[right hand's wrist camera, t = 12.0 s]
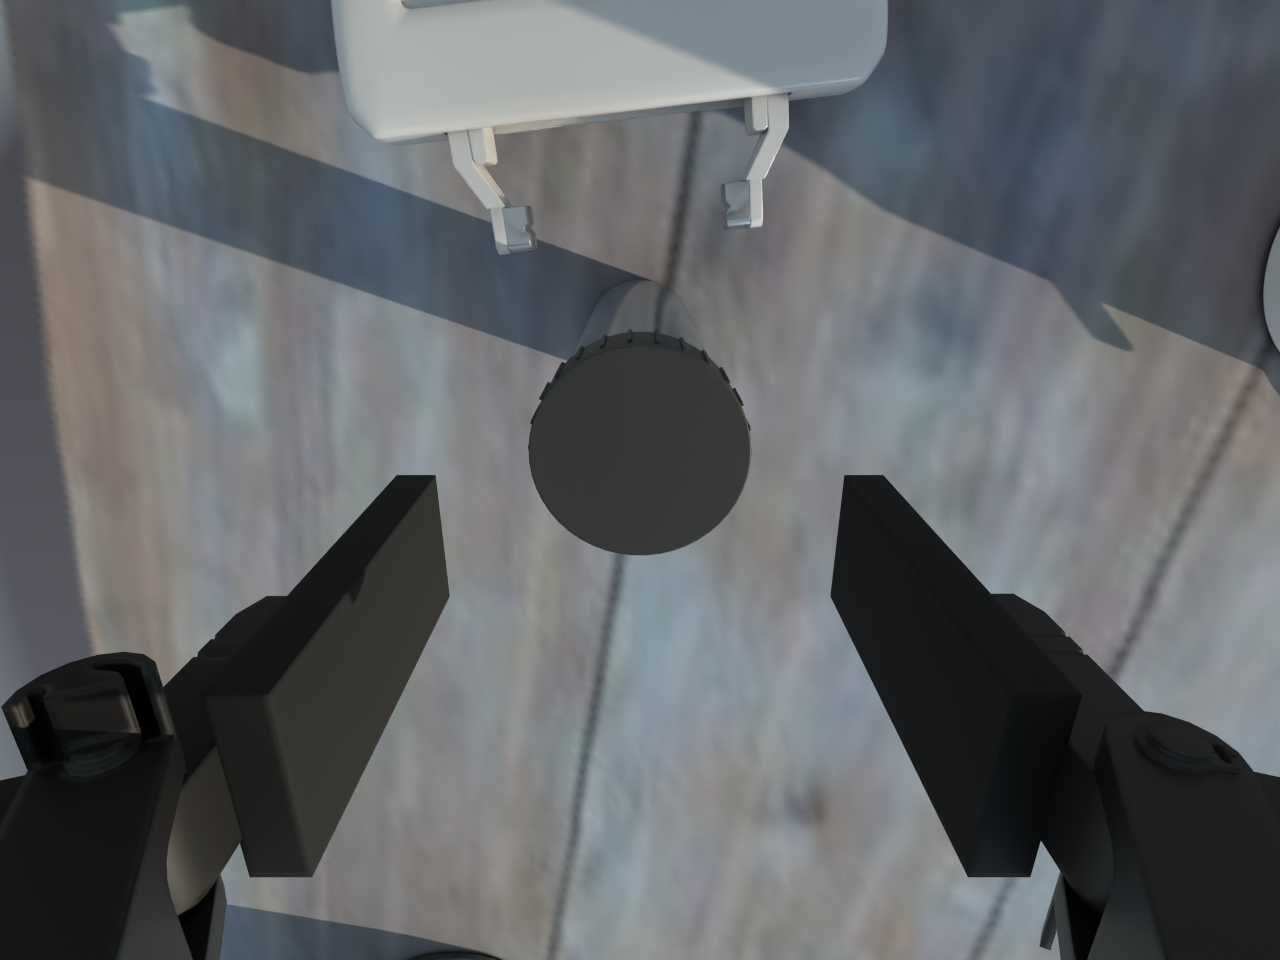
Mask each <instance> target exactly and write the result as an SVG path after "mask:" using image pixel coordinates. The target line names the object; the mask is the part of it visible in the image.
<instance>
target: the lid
mask: <svg viewBox="0 0 1280 960" xmlns="http://www.w3.org/2000/svg"><path fill="white" fill-rule="evenodd" d="M729 383H730V380H729V379H728V377H727V375H726V373H725V371H724V369H723V368H722V367H721V368H719V367H718V366H717V365H716V364H715V363H714V362H713V361H712V360H711V359H710V358H709V357H708V355H707V353H706V351H705V350H702V351H700V350H699V349H697V348H696V347H694V346H692V345H690V344H689V343H687V342H685V341H684V338H682V337H680V338H679V339H678V338H675V337H672V336H668V335H665V334H661V333H659V331H658V330H655V331H654V332H632V329H628V332H626V333H619V334H615V335H612V336H608V337H607V335H606V334H605V335H603V336H602V339H600V340H598V341H595V342H593V343H591V344H590V345H588V346H586V347H583V346H581V347H580V348H579V350H578V352H577V353H576V354H575V355H573V356H572V357H571V358H570V359H569V360H568V361H567V362H566V363H564V362H562V363H561V364H560V366H559V368H558V370H557V372H556V374H555V376H554V378H553V380H552V382H551V384H550V383H549V382H548V383H547V385H546V387H545V388H544V390H543V392H542V394H541V396H540V398H539V399H540V400H542V401H541V403H540V405H539V406H538V408H537V410H536V412H535V414H534V416H533V418H532V419H531V423H530V424H532V427H531V432H530V438H529V445H528V449H529V463H530V468H531V473H532V477H533V480H534V483H535V486H536V489H537V491H538V493H539V495H540V497H541V499H542V501H543V502H544V504H545V505H546V507H547V508H548V510H549V511H550V513H551V514H552V515H553V516H554V517H555V518H556V519H557V521H558V522H559V523H560V524H561V525H563V526H564V527H565V528H566V529H567V530H568V531H569V532H571V533H572V534H574V535H575V536H577V537H578V538H580V539H581V540H583V541H585V542H587V543H589V544H591V545H593V546H596V547H598V548H601V549H604V550H607V551H611V552H615V553H619V554H627V555H653V554H661V553H665V552H669V551H673V550H676V549H679V548H682V547H685V546H687V545H689V544H691V543H693V542H695V541H697V540H699V539H700V538H702V537H703V536H705V535H706V534H708V533H709V532H710V531H712V530H713V529H714V528H715V527H716V526H717V525H719V524H720V523H721V522H722V521H723V519H724V518H725V517H726V516H727V515H728V514H729V513H730V511H731V510H732V508H733V507H734V505H735V504H736V503H737V501H738V499H739V497H740V495H741V493H742V491H743V489H744V486H745V483H746V480H747V477H748V473H749V468H750V463H751V453H752V452H751V438H750V432H749V431H750V430H751V428H750V425H749V423H748V421H747V419H746V417H745V414H744V412H743V409H742V407H741V406H743V405H744V404H743V402H742V400H741V398H740V396H739V394H738V393H737V391H736V389H735V388H733V389H732V387H731V386H730V384H729Z"/></svg>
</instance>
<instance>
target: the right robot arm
mask: <svg viewBox="0 0 1280 960" xmlns="http://www.w3.org/2000/svg"><path fill="white" fill-rule="evenodd" d="M448 598H449V587H448V579H447V570H446V561H445V553H444V544H443V535H442V527H441V518H440V510H439V501H438V492H437V484H436V475H397V476H396V477H395V478H394V479H393V480H392V481H391V482H390V483H389V484H388V486H387V487H386V488H385V489H384V490H383V491H382V492H381V493H380V494H379V495H378V497H377V498H376V499H375V500H374V501H373V502H372V503H371V504H370V505H369V506H368V508H367V509H366V510H365V511H364V512H363V513H362V514H361V515H360V516H359V517H358V519H357V520H356V521H355V522H354V523H353V524H352V525H351V526H350V527H349V528H348V530H347V531H346V532H345V533H344V534H343V535H342V536H341V537H340V538H339V539H338V541H337V542H336V543H335V544H334V545H333V546H332V547H331V548H330V549H329V550H328V552H327V553H326V554H325V555H324V556H323V557H322V558H321V559H320V560H319V561H318V563H317V564H316V565H315V566H314V567H313V568H312V569H311V570H310V571H309V572H308V574H307V575H306V576H305V577H304V578H303V579H302V580H301V581H300V582H299V584H298V585H297V586H296V587H295V588H294V589H293V590H292V591H291V592H290V593H289V595H288V596H266V597H265V598H263V599H261V600H260V601H258V602H256V603H254V604H253V605H251V606H249V607H247V608H246V609H244V610H242V611H241V612H239V613H237V614H236V615H235V616H234V617H233V618H232V619H231V620H230V621H229V622H228V623H227V624H226V625H225V626H224V627H223V628H222V629H221V630H220V631H219V632H218V633H217V634H216V635H215V639H211V640H210V641H209V642H208V643H207V644H206V645H205V646H204V647H203V648H202V649H201V650H200V651H199V652H198V656H197V657H193V658H192V659H191V660H190V661H189V662H188V663H187V664H186V665H185V666H184V667H183V668H182V669H181V670H180V671H179V672H178V673H177V674H176V675H175V676H174V677H173V678H172V679H171V680H170V681H169V682H168V683H167V684H166V685H165V686H164V687H163V685H162V682H161V679H160V676H159V672H158V669H157V666H156V663H155V661H153V660H152V659H150V658H149V657H147V656H146V655H144V654H138V653H129V652H119V653H110V654H101V655H96V656H92V657H89V658H85V659H82V660H78V661H74V662H71V663H68V664H66V665H63V666H61V667H59V668H56V669H54V670H52V671H50V672H47V673H45V674H43V675H40V676H39V677H37V678H36V679H34V680H33V681H31V682H29V683H28V684H26V685H25V686H23V687H22V688H20V689H19V690H17V691H16V692H15V693H14V694H13V695H12V696H11V697H10V698H9V699H8V700H7V701H6V702H5V704H4V705H3V706H2V710H3V712H4V715H5V717H6V720H7V722H8V724H9V727H10V729H11V732H12V734H13V736H14V739H15V741H16V744H17V746H18V748H19V751H20V753H21V755H22V758H23V760H24V763H25V765H26V768H27V770H28V772H27V774H26V775H24V776H19V777H15V778H10V779H5V780H1V781H0V960H219V958H220V951H221V943H222V935H223V927H224V919H225V911H226V903H227V901H226V894H225V888H224V884H223V881H222V878H221V874H220V873H221V872H222V870H223V869H224V867H225V865H226V864H227V862H228V861H229V859H230V857H231V856H232V854H233V853H234V851H235V849H236V848H237V846H238V845H239V843H240V845H241V848H242V852H243V855H244V859H245V862H246V866H247V869H248V873H249V876H250V877H312V876H313V874H314V872H315V870H316V868H317V866H318V864H319V862H320V860H321V857H322V855H323V853H324V851H325V849H326V847H327V845H328V843H329V841H330V839H331V837H332V835H333V833H334V831H335V829H336V827H337V825H338V823H339V821H340V819H341V817H342V815H343V813H344V811H345V809H346V806H347V804H348V802H349V800H350V798H351V796H352V794H353V792H354V790H355V788H356V786H357V784H358V782H359V780H360V778H361V776H362V774H363V772H364V770H365V768H366V766H367V764H368V762H369V760H370V758H371V755H372V753H373V751H374V749H375V747H376V745H377V743H378V741H379V739H380V737H381V735H382V733H383V731H384V729H385V727H386V725H387V723H388V721H389V719H390V717H391V715H392V713H393V711H394V709H395V707H396V704H397V702H398V700H399V698H400V696H401V694H402V692H403V690H404V688H405V686H406V684H407V682H408V680H409V678H410V676H411V674H412V672H413V670H414V668H415V666H416V664H417V662H418V660H419V658H420V656H421V653H422V651H423V649H424V647H425V645H426V643H427V641H428V639H429V637H430V635H431V633H432V631H433V629H434V627H435V625H436V623H437V621H438V619H439V617H440V615H441V613H442V611H443V609H444V607H445V604H446V602H447V600H448ZM831 598H832V600H833V602H834V604H835V607H836V609H837V611H838V613H839V615H840V617H841V619H842V621H843V623H844V625H845V627H846V629H847V631H848V633H849V635H850V637H851V639H852V641H853V643H854V645H855V647H856V649H857V651H858V653H859V656H860V658H861V660H862V662H863V664H864V666H865V668H866V670H867V672H868V674H869V676H870V678H871V680H872V682H873V684H874V686H875V688H876V690H877V692H878V694H879V696H880V698H881V700H882V702H883V704H884V707H885V709H886V711H887V713H888V715H889V717H890V719H891V721H892V723H893V725H894V727H895V729H896V731H897V733H898V735H899V737H900V739H901V741H902V743H903V745H904V747H905V749H906V751H907V753H908V755H909V758H910V760H911V762H912V764H913V766H914V768H915V770H916V772H917V774H918V776H919V778H920V780H921V782H922V784H923V786H924V788H925V790H926V792H927V794H928V796H929V798H930V800H931V802H932V804H933V806H934V809H935V811H936V813H937V815H938V817H939V819H940V821H941V823H942V825H943V827H944V829H945V831H946V833H947V835H948V837H949V839H950V841H951V843H952V845H953V847H954V849H955V851H956V853H957V855H958V857H959V860H960V862H961V864H962V866H963V868H964V870H965V872H966V874H967V876H968V877H1030V876H1031V873H1032V869H1033V866H1034V862H1035V859H1036V855H1037V852H1038V848H1039V845H1040V841H1042V843H1043V844H1044V846H1045V847H1046V849H1047V851H1048V852H1049V854H1050V855H1051V857H1052V858H1053V860H1054V862H1055V863H1056V865H1057V866H1058V868H1059V869H1060V874H1059V878H1058V881H1057V884H1056V887H1055V891H1054V894H1053V897H1052V900H1051V904H1050V907H1049V910H1048V913H1047V917H1046V920H1045V923H1044V926H1043V930H1042V935H1041V941H1040V947H1043V948H1045V949H1048V950H1050V949H1051V946H1052V943H1053V940H1054V937H1055V934H1056V933H1058V941H1059V948H1060V956H1061V960H1280V777H1276V776H1271V775H1267V774H1262V773H1257V772H1253V770H1252V769H1251V768H1250V766H1249V765H1248V764H1247V763H1246V761H1245V760H1244V759H1243V758H1242V756H1241V755H1240V754H1239V753H1238V752H1237V751H1236V750H1235V749H1233V748H1232V747H1230V746H1229V745H1228V744H1226V743H1225V742H1224V741H1222V740H1221V739H1220V738H1218V737H1217V736H1216V735H1214V734H1212V733H1210V732H1208V731H1206V730H1204V729H1202V728H1200V727H1198V726H1196V725H1194V724H1192V723H1190V722H1187V721H1184V720H1181V719H1177V718H1174V717H1171V716H1168V715H1165V714H1162V713H1154V712H1146V711H1143V710H1142V709H1141V708H1140V707H1139V706H1138V705H1137V704H1136V703H1135V702H1134V701H1133V700H1132V699H1131V698H1130V697H1129V696H1128V695H1127V694H1126V693H1125V692H1124V691H1123V690H1122V689H1121V688H1120V687H1119V686H1118V685H1117V684H1116V683H1115V682H1114V681H1113V680H1112V679H1111V678H1110V677H1109V676H1108V675H1107V674H1106V673H1105V672H1104V671H1103V670H1102V669H1101V668H1100V667H1099V666H1098V665H1097V664H1096V663H1095V662H1094V661H1093V660H1092V659H1091V658H1090V657H1089V656H1088V655H1084V654H1083V650H1082V649H1081V648H1080V647H1079V646H1078V645H1077V644H1076V643H1075V642H1074V641H1073V640H1072V639H1071V638H1070V637H1066V635H1065V632H1064V631H1063V630H1062V629H1061V628H1060V627H1059V626H1058V625H1057V624H1056V623H1055V622H1054V621H1053V620H1052V619H1051V618H1050V617H1049V616H1048V615H1047V614H1046V613H1045V612H1044V611H1042V610H1041V609H1039V608H1037V607H1035V606H1034V605H1032V604H1030V603H1028V602H1027V601H1025V600H1023V599H1022V598H1020V597H1018V596H1016V595H1015V594H991V593H990V592H989V591H988V590H987V589H986V588H985V587H984V586H983V585H982V584H981V582H980V581H979V580H978V579H977V578H976V577H975V576H974V575H973V574H972V572H971V571H970V570H969V569H968V568H967V567H966V566H965V565H964V564H963V563H962V561H961V560H960V559H959V558H958V557H957V556H956V555H955V554H954V553H953V552H952V550H951V549H950V548H949V547H948V546H947V545H946V544H945V543H944V542H943V541H942V539H941V538H940V537H939V536H938V535H937V534H936V533H935V532H934V531H933V530H932V528H931V527H930V526H929V525H928V524H927V523H926V522H925V521H924V520H923V519H922V517H921V516H920V515H919V514H918V513H917V512H916V511H915V510H914V509H913V508H912V506H911V505H910V504H909V503H908V502H907V501H906V500H905V499H904V498H903V497H902V495H901V494H900V493H899V492H898V491H897V490H896V489H895V488H894V487H893V486H892V484H891V483H890V482H889V481H888V480H887V479H886V478H885V477H884V476H883V475H844V484H843V492H842V501H841V510H840V518H839V527H838V535H837V544H836V553H835V561H834V570H833V579H832V587H831ZM412 960H496V959H493V958H490V957H485V956H481V955H475V954H467V953H441V954H432V955H427V956H422V957H419V958H415V959H412Z"/></svg>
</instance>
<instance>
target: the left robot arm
mask: <svg viewBox="0 0 1280 960" xmlns="http://www.w3.org/2000/svg"><path fill="white" fill-rule="evenodd" d="M331 9H332V20H333V29H334V39H335V46H336V53H337V60H338V67H339V73H340V79H341V85H342V90H343V95H344V100H345V104H346V108H347V111H348V113H349V115H350V116H351V118H352V119H353V120H354V121H355V122H356V123H357V124H358V126H359V127H360V128H362V129H363V130H364V131H365V132H366V133H367V134H368V135H369V136H370V137H371V138H373V139H375V140H377V141H380V142H383V143H387V144H392V145H412V144H420V143H429V142H438V141H446V140H449V145H450V151H451V156H452V162H453V166H454V167H455V169H456V170H457V171H458V173H459V174H460V175H461V177H462V178H463V179H464V181H465V182H466V183H467V185H468V186H469V187H470V189H471V190H472V191H473V192H474V194H475V195H476V196H477V198H478V199H479V200H480V202H481V203H482V204H483V206H484V207H485V208H486V209H489V210H490V215H491V221H492V227H493V233H494V239H495V244H496V249H497V251H498V254H499V255H505V254H514V253H522V252H530V251H534V250H537V239H536V233H535V232H534V231H533V230H532V229H531V228H532V226H533V224H534V218H533V212H532V206H519V207H512V205H511V204H510V202H509V201H508V199H507V198H506V197H505V195H504V194H503V192H502V191H501V190H500V188H499V187H498V185H497V184H496V183H495V181H494V180H493V178H492V177H491V176H490V174H489V173H488V171H487V170H486V169H485V167H484V165H486V166H489V165H496V163H497V162H498V161H497V154H496V147H495V141H494V135H498V134H507V133H515V132H524V131H532V130H541V129H550V128H558V127H567V126H576V125H584V124H593V123H601V122H610V121H619V120H627V119H636V118H645V117H653V116H662V115H670V114H679V113H688V112H696V111H705V110H714V109H722V108H731V107H739V106H744V115H745V132H746V134H747V135H748V136H752V135H757V134H759V133H760V137H759V139H758V141H757V143H756V145H755V148H754V150H753V152H752V154H751V157H750V159H749V161H748V163H747V165H746V168H745V170H744V172H743V174H742V177H741V179H740V182H734V183H726V184H722V185H720V186H721V202H722V203H723V204H724V206H725V208H724V210H723V212H722V221H723V228H724V230H730V229H742V228H751V227H762V221H763V205H762V179H764V178H765V177H766V175H767V173H768V170H769V168H770V166H771V164H772V162H773V160H774V158H775V156H776V154H777V152H778V150H779V147H780V145H781V143H782V141H783V139H784V137H785V135H786V133H787V131H788V129H789V106H788V101H791V100H800V99H808V98H817V97H825V96H834V95H841V94H845V93H847V92H849V91H851V90H853V89H855V88H857V87H858V86H860V85H861V84H863V83H864V82H865V81H866V80H867V79H868V78H869V76H870V75H871V74H872V72H873V71H874V69H875V68H876V66H877V65H878V63H879V62H880V60H881V59H882V57H883V55H884V52H885V49H886V44H887V33H888V0H331ZM1263 301H1264V312H1265V318H1266V323H1267V326H1268V330H1269V333H1270V335H1271V338H1272V340H1273V342H1274V344H1275V346H1276V347H1277V349H1278V351H1279V352H1280V227H1279V230H1278V232H1277V234H1276V237H1275V239H1274V242H1273V245H1272V248H1271V251H1270V254H1269V258H1268V262H1267V266H1266V272H1265V278H1264V290H1263Z"/></svg>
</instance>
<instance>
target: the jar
mask: <svg viewBox="0 0 1280 960" xmlns="http://www.w3.org/2000/svg"><path fill="white" fill-rule="evenodd" d="M628 329H632V332H654V331H655V330H658V331H659V333H661V334H665V335H668V336H672V337H675V338H678V339H679V338H680V337H682V338H684V341H685V342H687V343H689V344H690V345H692V346H694V347H696V348H697V349H699V350H700V351H702V350H705V349H704V347H703V345H702V342H701V340H700V338H699V336H698V334H697V332H696V329H695V327H694V325H693V323H692V321H691V318H690V316H689V314H688V312H687V310H686V308H685V306H684V304H683V303H682V301H681V300H680V298H679V297H678V296H677V295H676V294H675V293H674V292H673V291H671V290H670V289H669V288H667V287H665V286H664V285H662V284H659V283H657V282H653V281H649V280H631V281H627V282H623V283H621V284H618V285H616V286H615V287H613V288H611V289H610V290H609V291H607V292H606V293H605V294H604V295H603V296H602V297H601V298H600V300H599V301H598V303H597V304H596V306H595V308H594V310H593V312H592V314H591V316H590V318H589V321H588V323H587V325H586V327H585V329H584V331H583V334H582V336H581V338H580V340H579V342H578V345H577V347H576V349H575V351H574V353H573V355H575V354H576V353H577V352H578V350H579V348H580V347H581V346H583V347H586V346H588V345H590V344H591V343H593V342H595V341H598V340H600V339H602V336H603V335H605V334H606V335H607V337H608V336H612V335H615V334H619V333H626V332H628Z"/></svg>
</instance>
